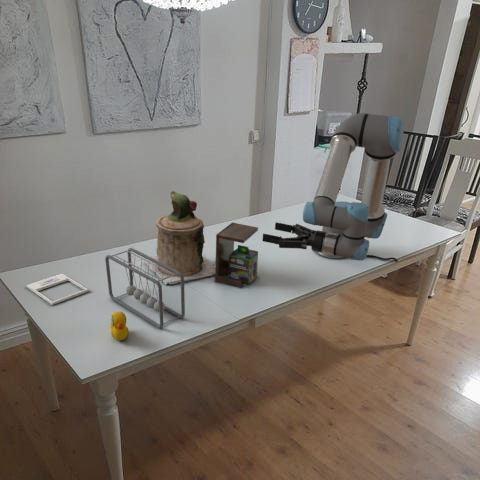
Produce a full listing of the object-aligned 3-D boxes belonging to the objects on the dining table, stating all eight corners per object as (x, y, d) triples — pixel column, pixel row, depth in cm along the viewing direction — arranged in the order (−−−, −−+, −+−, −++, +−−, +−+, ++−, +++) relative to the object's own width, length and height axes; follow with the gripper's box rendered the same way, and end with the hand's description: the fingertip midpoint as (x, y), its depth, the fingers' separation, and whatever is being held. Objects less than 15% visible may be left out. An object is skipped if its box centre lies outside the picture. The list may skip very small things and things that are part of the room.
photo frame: (62, 272, 183) (88, 288, 173) (62, 275, 184) (88, 291, 174) (26, 284, 174) (51, 302, 164) (26, 287, 174) (52, 305, 164)
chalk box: (257, 277, 191) (259, 243, 184) (248, 286, 184) (250, 251, 176) (236, 272, 194) (238, 238, 187) (227, 280, 187) (228, 246, 179)
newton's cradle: (109, 298, 171) (104, 253, 161) (132, 289, 177) (128, 245, 168) (161, 331, 154) (159, 283, 145) (185, 319, 161) (184, 273, 152)
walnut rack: (254, 273, 195) (258, 227, 184) (240, 288, 183) (243, 240, 172) (230, 267, 198) (232, 222, 187) (215, 281, 186) (216, 234, 176)
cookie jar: (166, 287, 180) (162, 206, 163) (141, 262, 197) (136, 187, 180) (221, 274, 192) (223, 198, 175) (193, 252, 209) (193, 180, 192)
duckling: (131, 346, 146) (129, 319, 141) (114, 349, 144) (111, 322, 139) (126, 327, 155) (124, 301, 150) (109, 329, 153) (106, 303, 148)
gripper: (314, 264, 160) (256, 252, 167) (331, 240, 180) (279, 230, 186) (317, 244, 156) (258, 232, 163) (334, 222, 176) (281, 212, 182)
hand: (269, 231), depth 175 cm, fingers open, 13 cm apart
